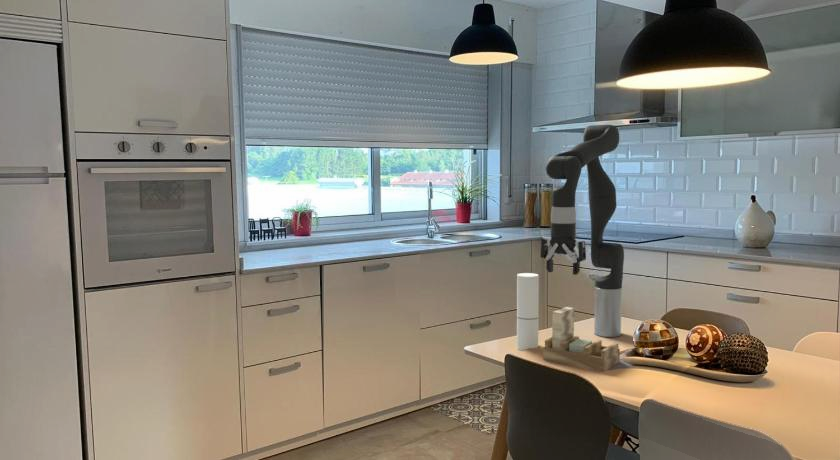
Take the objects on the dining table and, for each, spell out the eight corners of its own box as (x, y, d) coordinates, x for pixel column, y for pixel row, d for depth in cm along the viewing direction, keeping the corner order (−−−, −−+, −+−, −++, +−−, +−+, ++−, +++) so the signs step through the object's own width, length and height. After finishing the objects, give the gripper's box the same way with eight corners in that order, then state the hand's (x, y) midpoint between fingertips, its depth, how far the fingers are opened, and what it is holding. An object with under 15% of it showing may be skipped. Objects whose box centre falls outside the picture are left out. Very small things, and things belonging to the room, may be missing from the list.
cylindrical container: (537, 345, 222) (537, 273, 220) (539, 351, 215) (539, 276, 213) (516, 345, 223) (516, 273, 220) (517, 351, 216) (517, 276, 213)
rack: (561, 353, 213) (562, 332, 212) (619, 364, 200) (619, 342, 200) (543, 363, 203) (543, 341, 202) (602, 375, 191) (602, 351, 190)
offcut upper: (577, 347, 205) (577, 338, 205) (591, 349, 203) (592, 340, 202) (569, 352, 200) (569, 344, 199) (583, 355, 197) (583, 346, 197)
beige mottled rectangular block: (565, 352, 210) (566, 306, 209) (573, 354, 209) (574, 307, 207) (552, 359, 203) (552, 311, 202) (560, 360, 202) (560, 313, 200)
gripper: (590, 221, 200) (589, 273, 201) (548, 219, 208) (547, 269, 210) (579, 223, 194) (578, 277, 195) (536, 221, 203) (536, 272, 204)
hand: (562, 273), depth 203 cm, fingers open, 8 cm apart
